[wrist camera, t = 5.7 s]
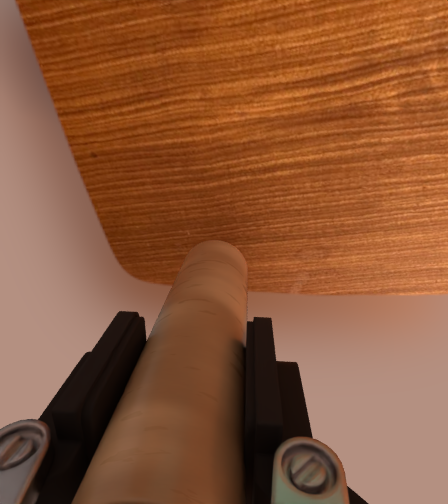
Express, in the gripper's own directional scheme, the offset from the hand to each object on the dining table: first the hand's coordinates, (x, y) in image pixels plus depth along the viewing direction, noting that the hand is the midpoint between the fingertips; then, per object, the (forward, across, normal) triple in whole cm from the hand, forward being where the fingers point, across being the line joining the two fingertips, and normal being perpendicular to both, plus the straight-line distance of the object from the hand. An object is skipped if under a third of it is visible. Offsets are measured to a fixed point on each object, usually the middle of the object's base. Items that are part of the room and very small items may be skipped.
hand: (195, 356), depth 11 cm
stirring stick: (+7, 0, 0) cm, 7 cm away
